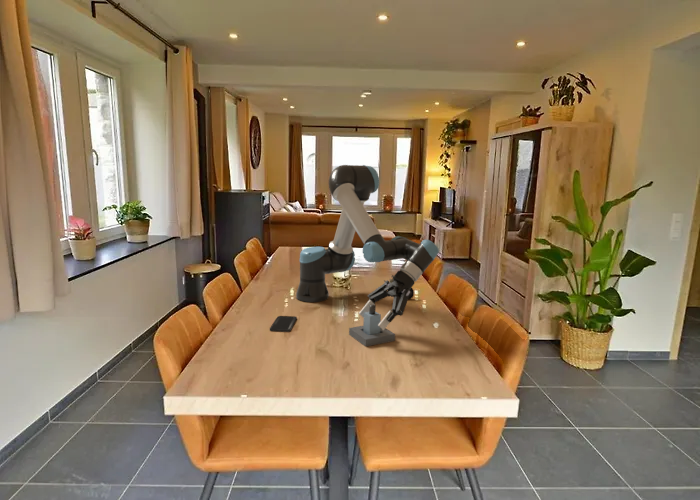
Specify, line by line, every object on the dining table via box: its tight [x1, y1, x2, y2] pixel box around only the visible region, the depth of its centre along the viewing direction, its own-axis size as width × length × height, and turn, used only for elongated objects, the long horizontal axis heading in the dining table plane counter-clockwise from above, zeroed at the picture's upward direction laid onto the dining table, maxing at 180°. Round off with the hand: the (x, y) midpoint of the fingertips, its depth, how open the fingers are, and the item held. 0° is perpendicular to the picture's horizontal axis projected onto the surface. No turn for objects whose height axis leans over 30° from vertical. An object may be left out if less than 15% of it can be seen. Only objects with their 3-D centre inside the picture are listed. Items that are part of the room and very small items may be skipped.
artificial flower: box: [383, 274, 415, 300], centre depth 209 cm, size 9×22×10 cm, turn 13°
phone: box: [269, 315, 297, 333], centre depth 164 cm, size 8×1×15 cm
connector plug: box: [362, 304, 382, 335], centre depth 151 cm, size 4×4×12 cm
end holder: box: [348, 325, 396, 347], centre depth 152 cm, size 12×12×2 cm
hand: (370, 321), depth 151 cm, fingers open, 13 cm apart
